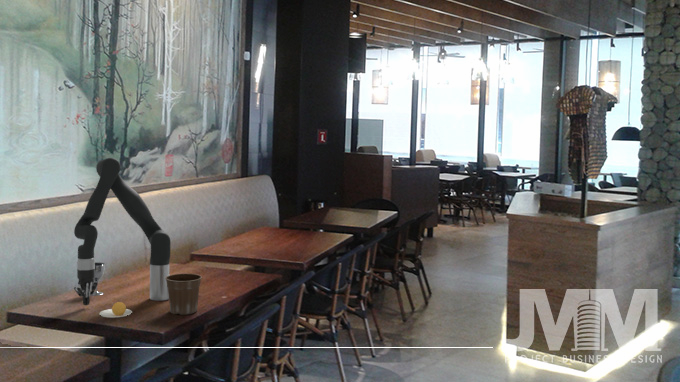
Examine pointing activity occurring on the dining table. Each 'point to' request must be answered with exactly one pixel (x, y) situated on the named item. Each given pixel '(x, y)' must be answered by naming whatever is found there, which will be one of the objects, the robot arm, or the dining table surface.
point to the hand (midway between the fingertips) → (86, 304)
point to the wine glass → (98, 276)
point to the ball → (119, 308)
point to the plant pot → (183, 293)
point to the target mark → (110, 314)
